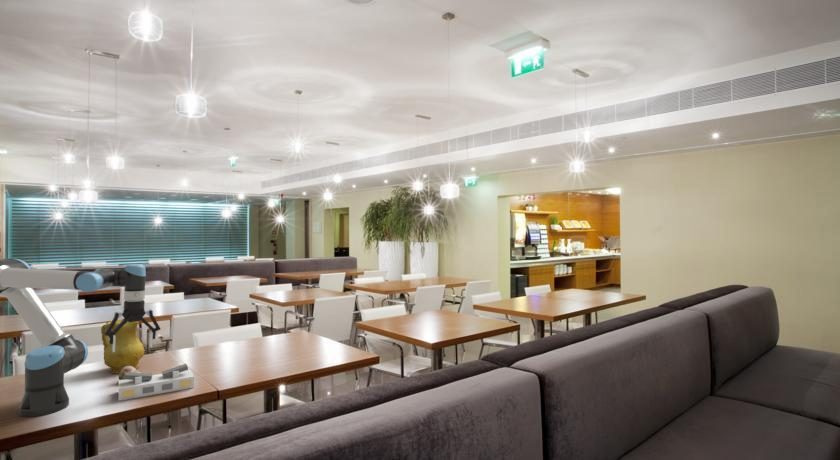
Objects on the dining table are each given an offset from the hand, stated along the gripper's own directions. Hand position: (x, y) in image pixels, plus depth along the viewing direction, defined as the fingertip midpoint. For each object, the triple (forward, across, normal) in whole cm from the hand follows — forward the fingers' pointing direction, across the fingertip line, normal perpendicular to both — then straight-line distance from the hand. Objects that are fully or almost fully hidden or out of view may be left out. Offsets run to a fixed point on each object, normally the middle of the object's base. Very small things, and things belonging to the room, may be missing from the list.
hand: (132, 349), depth 190 cm
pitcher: (+20, +2, +40) cm, 45 cm away
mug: (+20, +3, +17) cm, 26 cm away
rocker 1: (+12, +2, -2) cm, 12 cm away
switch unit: (+19, +9, -3) cm, 21 cm away
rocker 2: (+11, +16, -4) cm, 20 cm away
